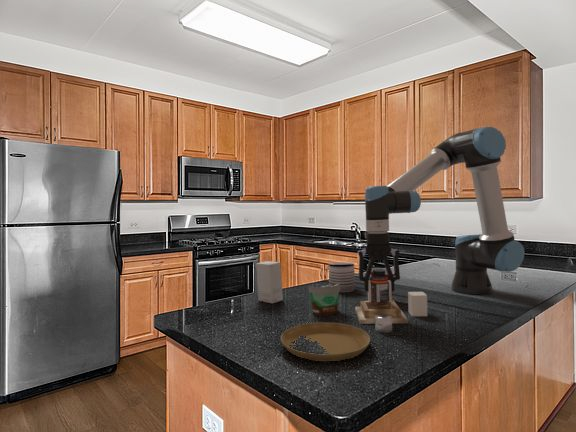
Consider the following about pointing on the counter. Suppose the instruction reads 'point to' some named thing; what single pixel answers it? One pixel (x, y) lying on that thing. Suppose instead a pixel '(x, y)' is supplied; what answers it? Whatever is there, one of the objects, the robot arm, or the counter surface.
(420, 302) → the off-white block
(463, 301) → the counter surface
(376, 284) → the supplement bottle
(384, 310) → the tray
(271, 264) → the skincare box
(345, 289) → the off-white ribbed cylinder
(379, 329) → the small clear jar
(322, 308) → the food container
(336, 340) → the plant saucer
